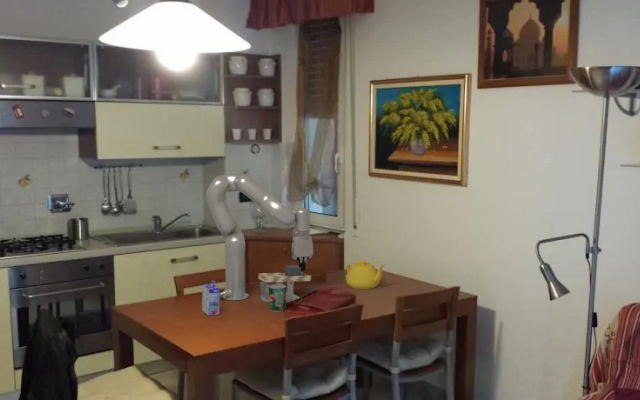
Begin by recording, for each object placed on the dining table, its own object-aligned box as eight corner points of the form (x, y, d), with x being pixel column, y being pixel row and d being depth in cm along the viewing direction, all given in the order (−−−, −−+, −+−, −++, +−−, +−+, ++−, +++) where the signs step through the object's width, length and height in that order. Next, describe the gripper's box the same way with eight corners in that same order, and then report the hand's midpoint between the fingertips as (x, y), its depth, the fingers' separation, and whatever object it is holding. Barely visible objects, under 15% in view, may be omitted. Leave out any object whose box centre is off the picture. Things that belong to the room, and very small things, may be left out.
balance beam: (266, 282, 309) (266, 277, 309) (258, 278, 317) (258, 273, 316) (310, 280, 320) (311, 275, 320) (302, 277, 328) (302, 272, 328)
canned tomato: (289, 309, 299) (289, 286, 298) (277, 312, 293) (277, 289, 292) (277, 306, 304) (277, 283, 303) (265, 309, 299) (265, 285, 298)
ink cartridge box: (220, 314, 290) (220, 282, 288) (208, 316, 287) (208, 284, 286) (213, 309, 298) (213, 278, 297) (201, 310, 296) (201, 279, 294)
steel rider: (289, 277, 317) (290, 267, 316) (284, 275, 321) (285, 265, 321) (300, 277, 320) (301, 267, 319) (295, 275, 324) (296, 265, 324)
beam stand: (270, 304, 307) (270, 283, 306) (256, 296, 321) (256, 276, 320) (301, 300, 315) (301, 280, 314) (286, 292, 329) (286, 273, 328)
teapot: (393, 286, 343) (394, 261, 342) (374, 293, 330) (374, 266, 328) (355, 279, 359) (355, 255, 358) (335, 285, 346) (335, 260, 344)
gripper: (291, 235, 314) (292, 273, 316) (319, 233, 321) (319, 270, 323) (285, 233, 320) (285, 270, 322) (311, 231, 327) (311, 267, 329)
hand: (302, 270), depth 323 cm, fingers closed
